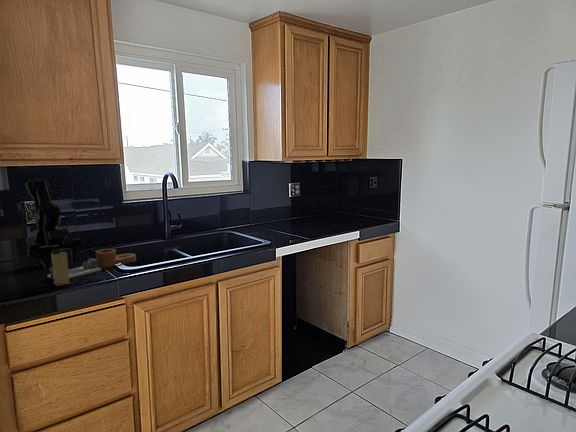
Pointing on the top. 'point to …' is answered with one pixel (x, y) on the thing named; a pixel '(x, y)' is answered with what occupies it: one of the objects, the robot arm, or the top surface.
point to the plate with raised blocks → (81, 269)
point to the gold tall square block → (60, 268)
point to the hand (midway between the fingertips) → (60, 265)
